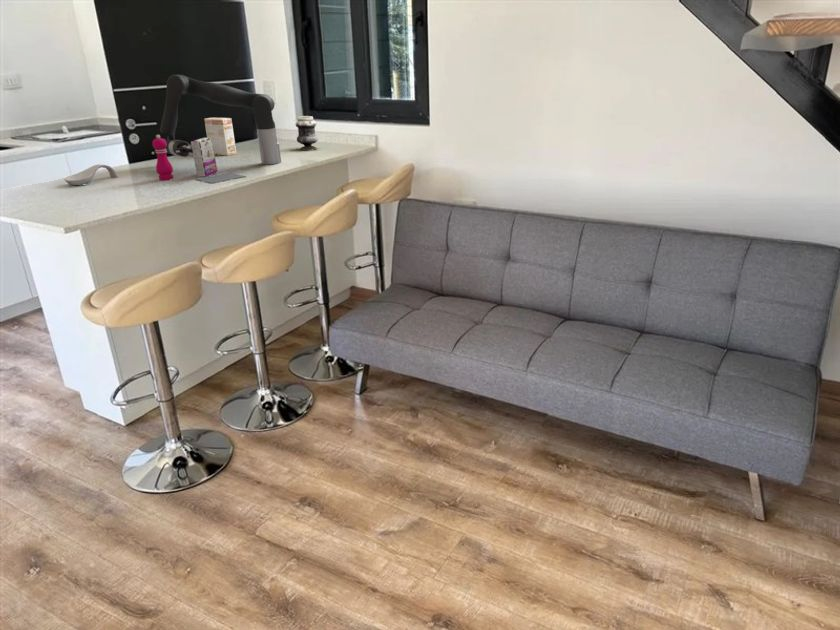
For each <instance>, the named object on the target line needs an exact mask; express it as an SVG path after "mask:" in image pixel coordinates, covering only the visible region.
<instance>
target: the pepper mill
mask: <svg viewBox="0 0 840 630" xmlns="http://www.w3.org/2000/svg"><path fill="white" fill-rule="evenodd" d="M155 138H157V139H155ZM155 138H154V139H153V140H152V148H153V147H154V148H155V149H156V150H155V149H154V148H153V149H154V153H155V154H156V157H157V158H156V159H157V162H156V166H155V171H156V173H157V174H158V179H159V181H170V179H171V180H173V179H174V175H173V171H174V169H173V166H172V164H171V161H169V158H168V155H167V153H166V152H167V149H165V148H166V146H167V143H166V141H165V140H164V139H165V138H164V139H162V138H163V137H161V135H160V134H156V135H155Z"/></svg>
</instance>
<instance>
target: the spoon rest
mask: <svg viewBox="0 0 840 630" xmlns="http://www.w3.org/2000/svg"><path fill="white" fill-rule="evenodd" d="M101 168H104V169H106V170H107V171H108V173H109V176H110V178H115V177H116V178H118V175H117V174H118V173H117V172H116V170H115V169H114V168H112V167H111V166H110V165H106V164H100V163H99V164H94V165H92V166H90V167H88V168H86V169H84V170H82V171H79V172H77V173H75V174H72V175H68V176H67V177H65V178H64V179H63V180H64V182H65V183H67V184H69V185H71V186H74V185H82V186H84V185H83V184H87V185H89V184H91V182H92V180H93V178H94V177H95V175H96V173H97V171H98V170H99V169H101ZM88 183H89V184H88Z"/></svg>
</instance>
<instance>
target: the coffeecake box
mask: <svg viewBox="0 0 840 630" xmlns="http://www.w3.org/2000/svg"><path fill="white" fill-rule="evenodd" d="M203 120H204V125H205V132H206V138H212V144H213V149H214V155H216V154H217V155H218V156H227V155H228V156H232V155H231V154H233V155H237V154H236V153H237V148H236V141H235V134H234V127H233V121H232V117H231V118H230V117H207V118H206V117H205V118H204V119H203ZM217 155H216V156H217Z"/></svg>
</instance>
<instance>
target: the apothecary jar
mask: <svg viewBox="0 0 840 630" xmlns="http://www.w3.org/2000/svg"><path fill="white" fill-rule="evenodd" d="M295 126H296V128H297V132H298V135H297V137H296V141H297V143H299V144H301V145H303V146H301V147H300V148H299V150H300V151H313V150H312V149H315V150H317V149H316V148H317V147H316V146H315V145H314V144H316V143H317V142H318V141H319V140H318V139H319V138H318V136H317V134H316V129H315V128H316V126H317V121H315V120H314V117H313V115H312V116H310V115H302V116H298V117H297V120H296V121H295Z"/></svg>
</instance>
